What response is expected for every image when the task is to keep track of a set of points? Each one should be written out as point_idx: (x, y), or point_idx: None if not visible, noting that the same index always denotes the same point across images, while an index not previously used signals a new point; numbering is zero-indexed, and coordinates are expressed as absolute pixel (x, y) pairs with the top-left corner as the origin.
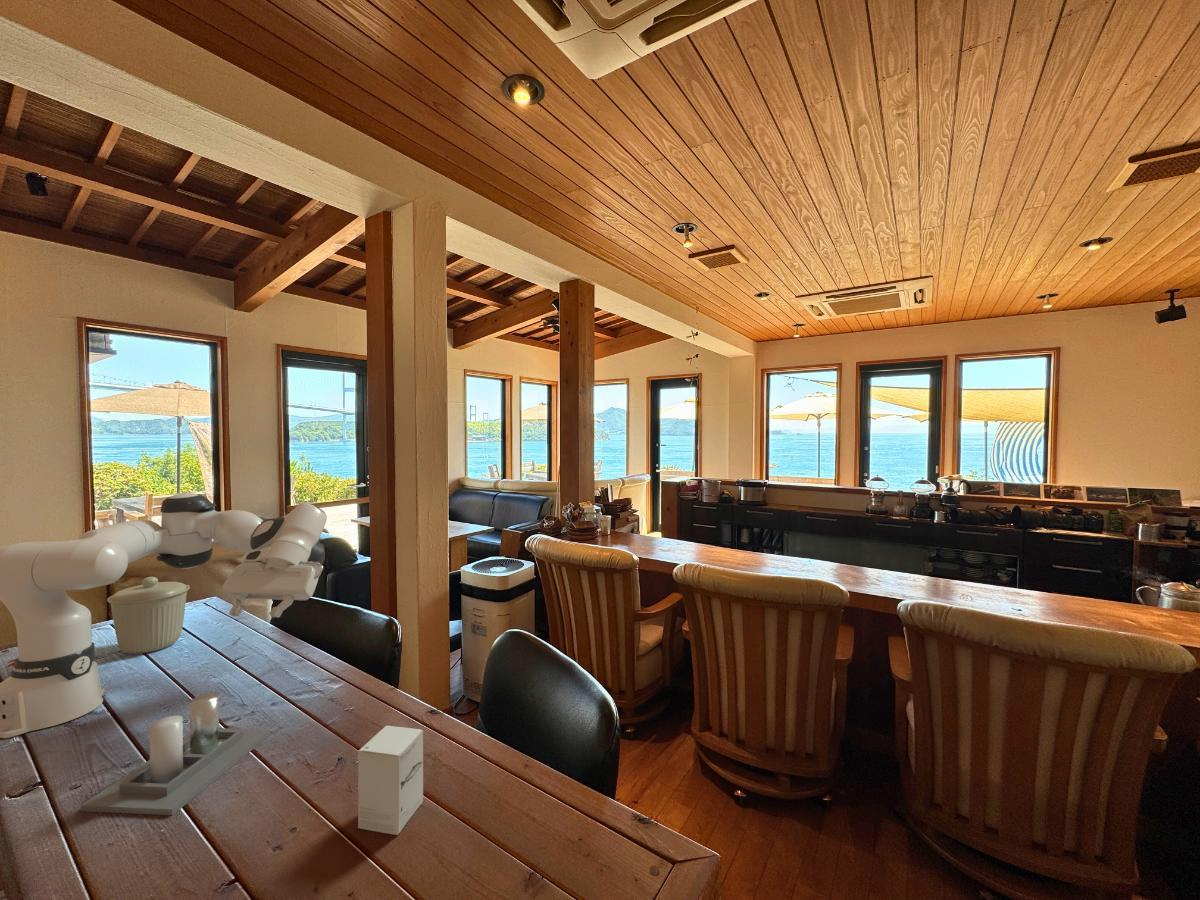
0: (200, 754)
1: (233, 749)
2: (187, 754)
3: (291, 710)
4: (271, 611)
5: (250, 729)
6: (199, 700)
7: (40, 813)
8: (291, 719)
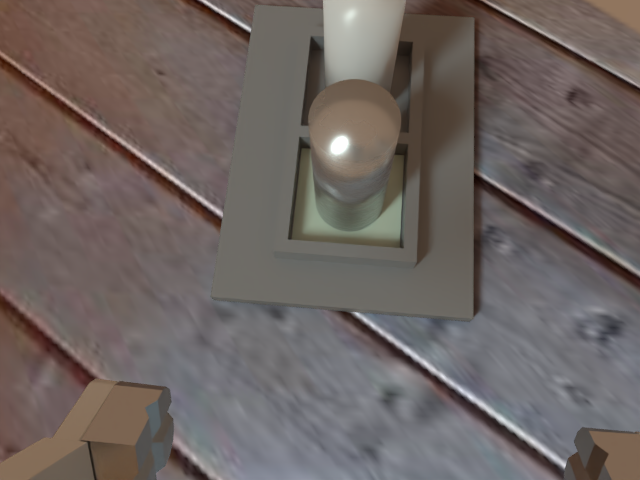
0: None
1: (264, 199)
2: None
3: (225, 457)
4: (144, 398)
5: (280, 300)
6: (364, 107)
7: (555, 24)
8: (192, 391)
